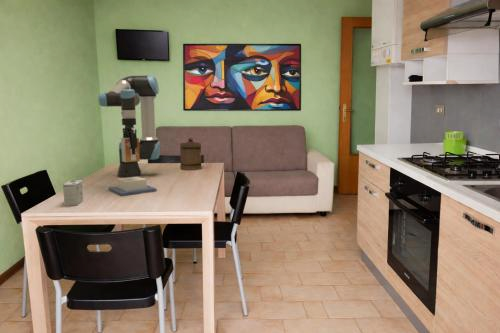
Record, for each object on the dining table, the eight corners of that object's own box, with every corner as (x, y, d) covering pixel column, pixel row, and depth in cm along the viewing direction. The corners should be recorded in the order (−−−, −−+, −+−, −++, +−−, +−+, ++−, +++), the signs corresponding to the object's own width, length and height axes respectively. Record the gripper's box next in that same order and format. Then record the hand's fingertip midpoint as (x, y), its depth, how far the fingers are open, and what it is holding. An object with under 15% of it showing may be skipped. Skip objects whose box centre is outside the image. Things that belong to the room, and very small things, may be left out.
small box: (125, 162, 259) (124, 138, 257) (121, 161, 264) (120, 137, 262) (140, 161, 264) (139, 137, 261) (135, 160, 269) (134, 137, 267)
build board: (108, 190, 269) (107, 178, 268) (141, 185, 280) (141, 174, 279) (122, 196, 253) (121, 184, 252) (156, 191, 265) (156, 179, 264)
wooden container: (205, 167, 343) (205, 137, 339) (192, 170, 331) (191, 139, 327) (189, 166, 351) (188, 136, 347) (176, 169, 339) (175, 138, 335)
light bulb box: (70, 200, 243) (68, 180, 241) (83, 200, 244) (82, 179, 242) (63, 205, 232) (62, 184, 231) (78, 205, 233) (76, 183, 231)
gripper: (115, 117, 266) (117, 158, 269) (129, 118, 250) (131, 162, 254) (128, 116, 270) (130, 157, 274) (142, 118, 255) (144, 160, 258)
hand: (130, 159), depth 264 cm, fingers closed on small box, 6 cm apart
